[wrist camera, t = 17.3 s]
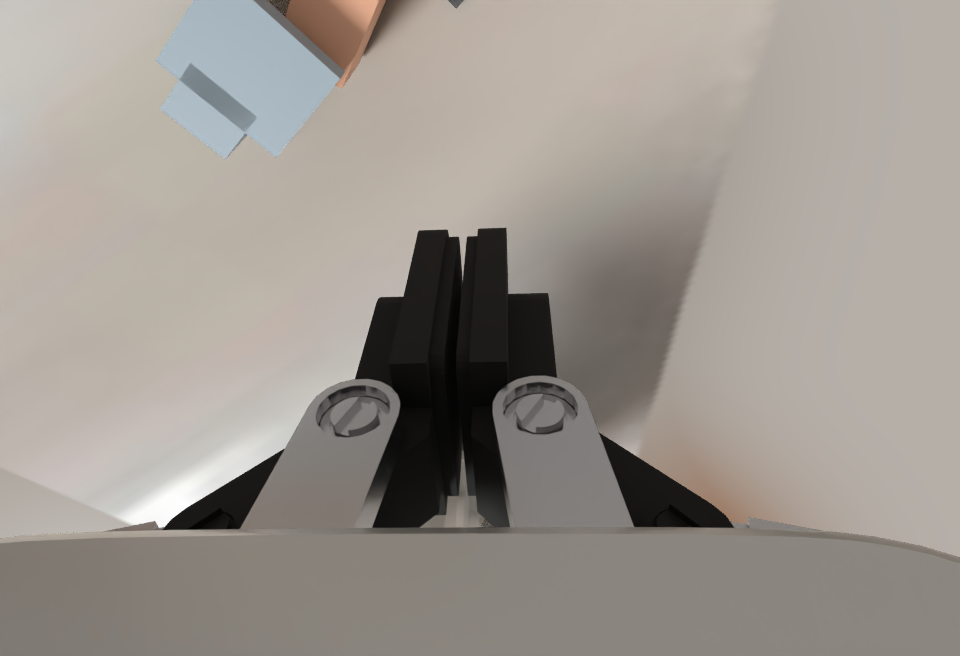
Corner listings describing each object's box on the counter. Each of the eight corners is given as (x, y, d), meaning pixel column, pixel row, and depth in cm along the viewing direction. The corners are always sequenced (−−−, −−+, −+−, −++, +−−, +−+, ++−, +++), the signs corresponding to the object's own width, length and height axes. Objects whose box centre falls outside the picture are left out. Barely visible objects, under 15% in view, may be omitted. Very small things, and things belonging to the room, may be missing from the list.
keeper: (366, 41, 30) (340, 78, 25) (292, 133, 32) (255, 182, 27) (265, -54, 27) (214, -35, 23) (195, 53, 30) (136, 91, 25)
